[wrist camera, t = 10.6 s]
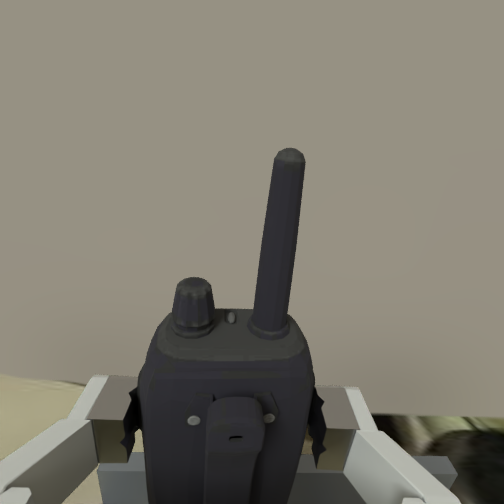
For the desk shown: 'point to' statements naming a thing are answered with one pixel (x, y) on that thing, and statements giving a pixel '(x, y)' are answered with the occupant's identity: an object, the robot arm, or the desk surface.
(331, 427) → the robot arm
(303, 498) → the dock
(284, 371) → the two-way radio
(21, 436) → the desk surface
